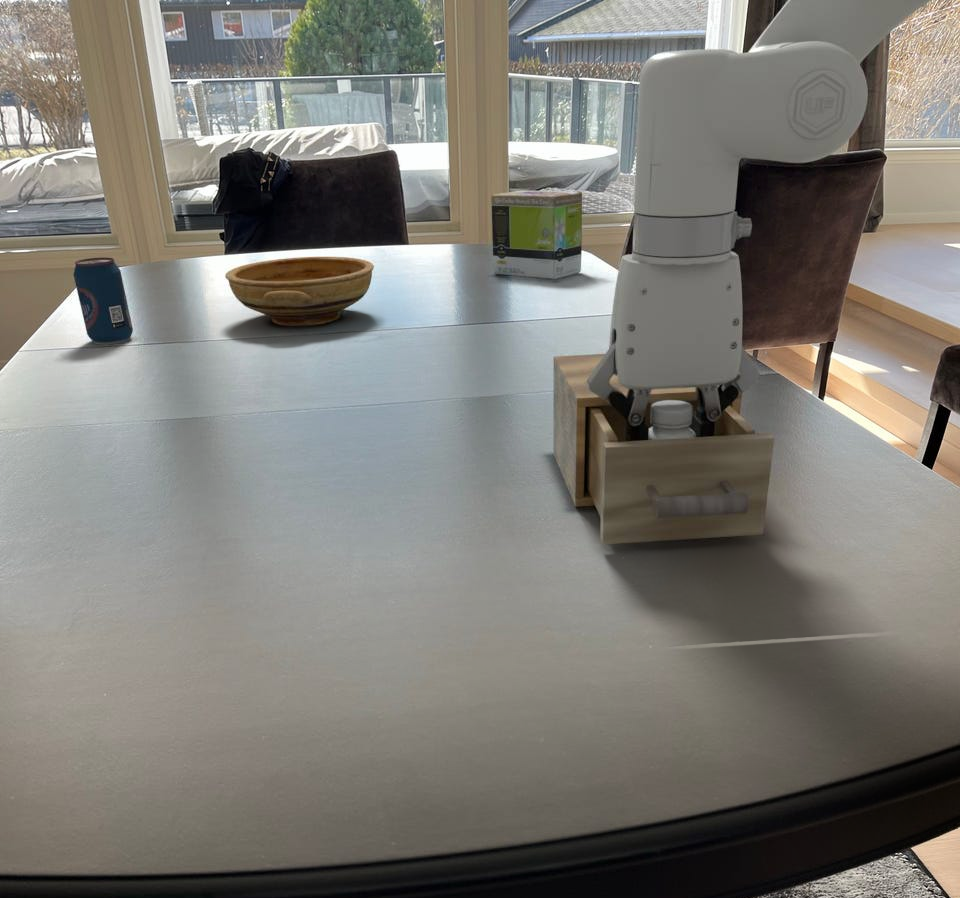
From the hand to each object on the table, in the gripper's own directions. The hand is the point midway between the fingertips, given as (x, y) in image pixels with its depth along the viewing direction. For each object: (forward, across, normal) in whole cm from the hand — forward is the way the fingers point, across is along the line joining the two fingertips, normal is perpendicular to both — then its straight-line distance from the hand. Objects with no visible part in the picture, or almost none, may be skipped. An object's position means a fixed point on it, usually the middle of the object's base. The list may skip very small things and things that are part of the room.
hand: (667, 462), depth 84 cm
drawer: (+4, 0, +2) cm, 5 cm away
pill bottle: (+3, 0, 0) cm, 3 cm away
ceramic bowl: (+5, +39, -92) cm, 100 cm away
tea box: (+5, -4, -123) cm, 123 cm away
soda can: (+5, +69, -83) cm, 108 cm away
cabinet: (+5, 0, -11) cm, 12 cm away
